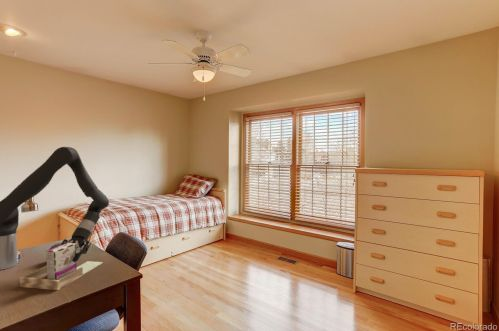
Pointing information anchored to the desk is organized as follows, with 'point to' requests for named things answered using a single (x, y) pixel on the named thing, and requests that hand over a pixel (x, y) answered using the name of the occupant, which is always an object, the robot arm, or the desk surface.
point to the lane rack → (43, 283)
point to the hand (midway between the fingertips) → (65, 261)
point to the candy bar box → (61, 261)
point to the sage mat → (89, 266)
